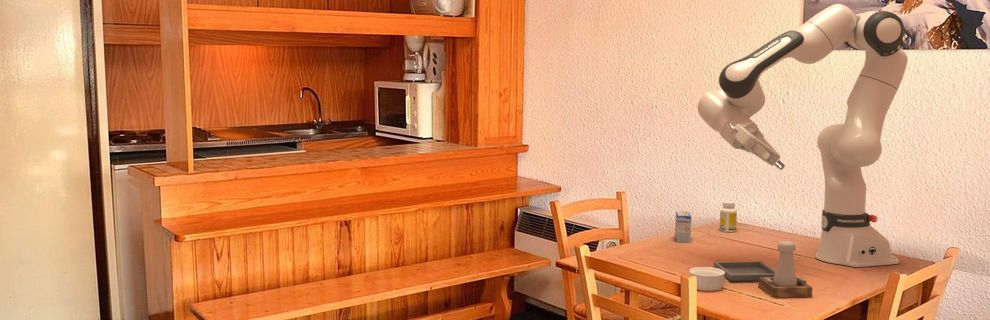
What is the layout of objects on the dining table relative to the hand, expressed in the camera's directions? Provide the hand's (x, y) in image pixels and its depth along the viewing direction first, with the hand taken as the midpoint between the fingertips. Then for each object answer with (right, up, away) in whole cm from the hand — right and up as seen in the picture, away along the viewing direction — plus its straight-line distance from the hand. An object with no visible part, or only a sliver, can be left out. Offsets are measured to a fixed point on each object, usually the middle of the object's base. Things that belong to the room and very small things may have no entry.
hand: (775, 162), depth 232 cm
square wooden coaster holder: (-2, -33, -12) cm, 35 cm away
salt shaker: (-2, -33, -12) cm, 35 cm away
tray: (-7, -31, +3) cm, 32 cm away
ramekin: (-20, -32, -8) cm, 39 cm away
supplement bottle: (+3, -23, +59) cm, 63 cm away
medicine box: (-15, -25, +46) cm, 54 cm away
